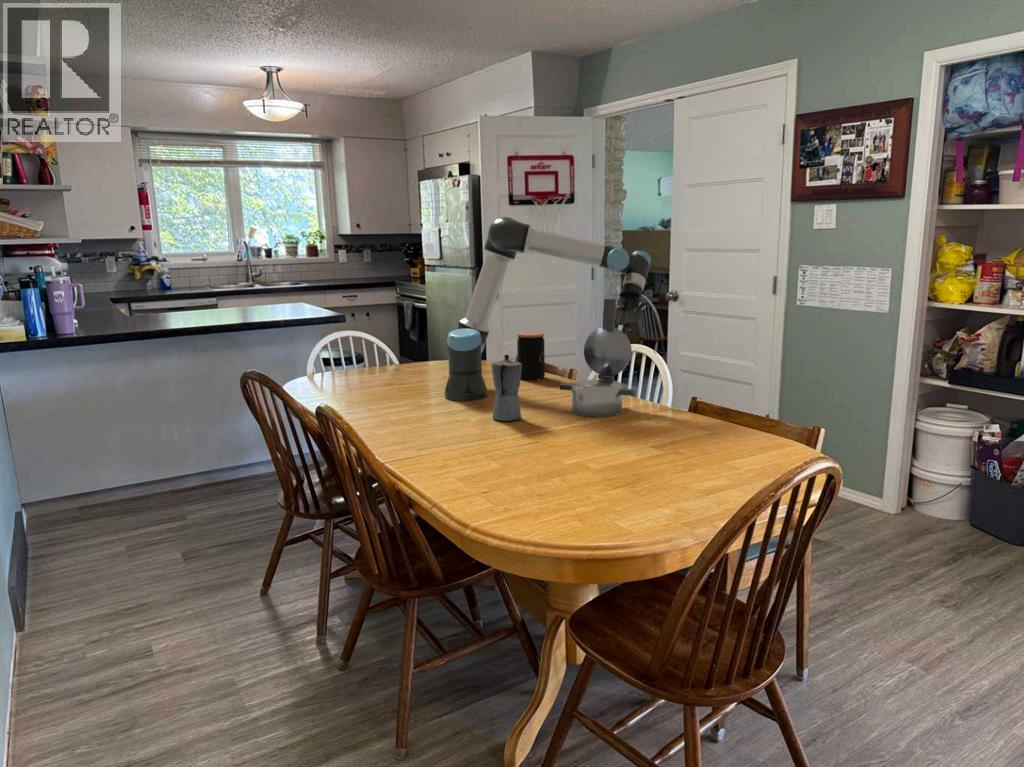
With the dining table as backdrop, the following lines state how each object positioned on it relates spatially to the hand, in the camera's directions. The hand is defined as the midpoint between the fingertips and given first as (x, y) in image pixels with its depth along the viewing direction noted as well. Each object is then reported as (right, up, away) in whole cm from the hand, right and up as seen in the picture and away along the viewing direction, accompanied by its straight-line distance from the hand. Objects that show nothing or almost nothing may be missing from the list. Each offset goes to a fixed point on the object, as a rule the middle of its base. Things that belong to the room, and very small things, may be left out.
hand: (617, 342), depth 234 cm
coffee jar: (-28, -12, +42) cm, 52 cm away
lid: (-4, +1, -7) cm, 8 cm away
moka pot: (-37, -25, -18) cm, 48 cm away
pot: (-8, -22, -10) cm, 26 cm away
